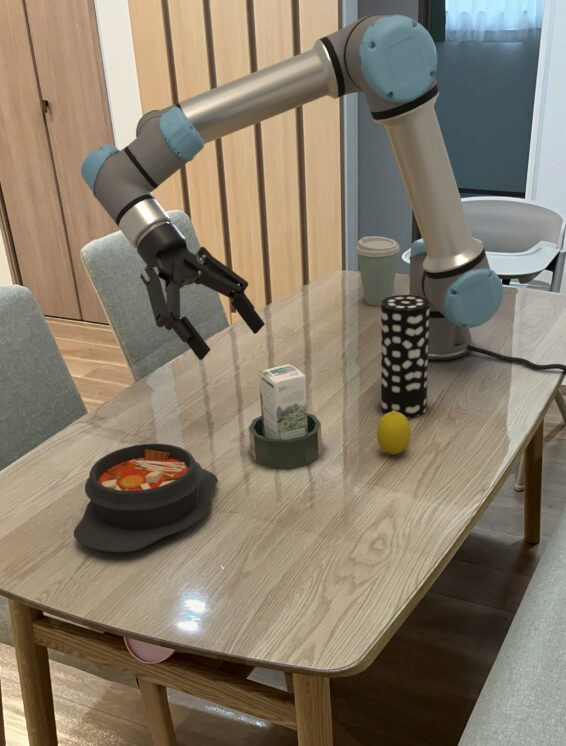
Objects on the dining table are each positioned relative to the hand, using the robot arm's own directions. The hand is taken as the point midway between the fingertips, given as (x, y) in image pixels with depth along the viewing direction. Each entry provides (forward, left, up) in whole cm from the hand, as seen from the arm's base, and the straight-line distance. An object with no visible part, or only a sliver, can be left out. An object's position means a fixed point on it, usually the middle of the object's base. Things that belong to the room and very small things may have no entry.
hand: (233, 341), depth 134 cm
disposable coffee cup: (-15, -76, -18) cm, 80 cm away
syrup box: (-9, +4, -18) cm, 20 cm away
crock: (-9, +4, -18) cm, 20 cm away
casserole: (+7, +26, -18) cm, 32 cm away
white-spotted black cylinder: (-27, -15, -18) cm, 35 cm away
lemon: (-27, +3, -18) cm, 32 cm away
